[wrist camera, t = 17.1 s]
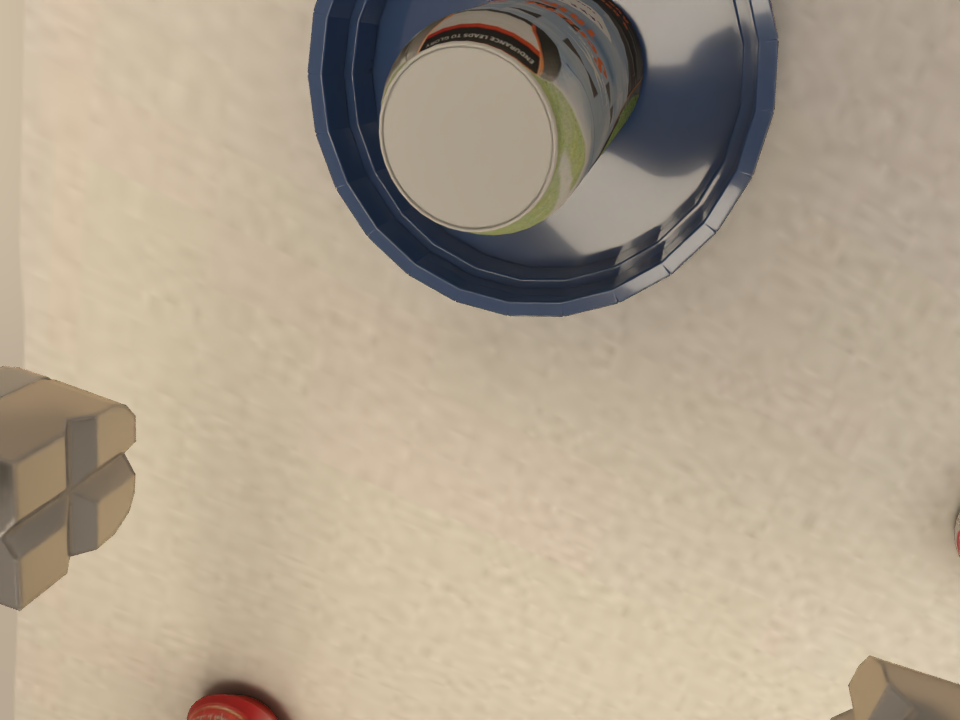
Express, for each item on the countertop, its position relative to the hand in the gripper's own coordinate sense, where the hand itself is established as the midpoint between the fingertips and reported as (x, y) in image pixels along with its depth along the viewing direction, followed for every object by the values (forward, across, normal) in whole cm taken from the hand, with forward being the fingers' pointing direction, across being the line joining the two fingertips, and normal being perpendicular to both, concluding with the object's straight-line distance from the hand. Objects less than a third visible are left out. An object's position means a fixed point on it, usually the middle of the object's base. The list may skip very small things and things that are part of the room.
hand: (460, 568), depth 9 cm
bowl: (+26, +5, -3) cm, 26 cm away
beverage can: (+25, +4, -3) cm, 26 cm away
